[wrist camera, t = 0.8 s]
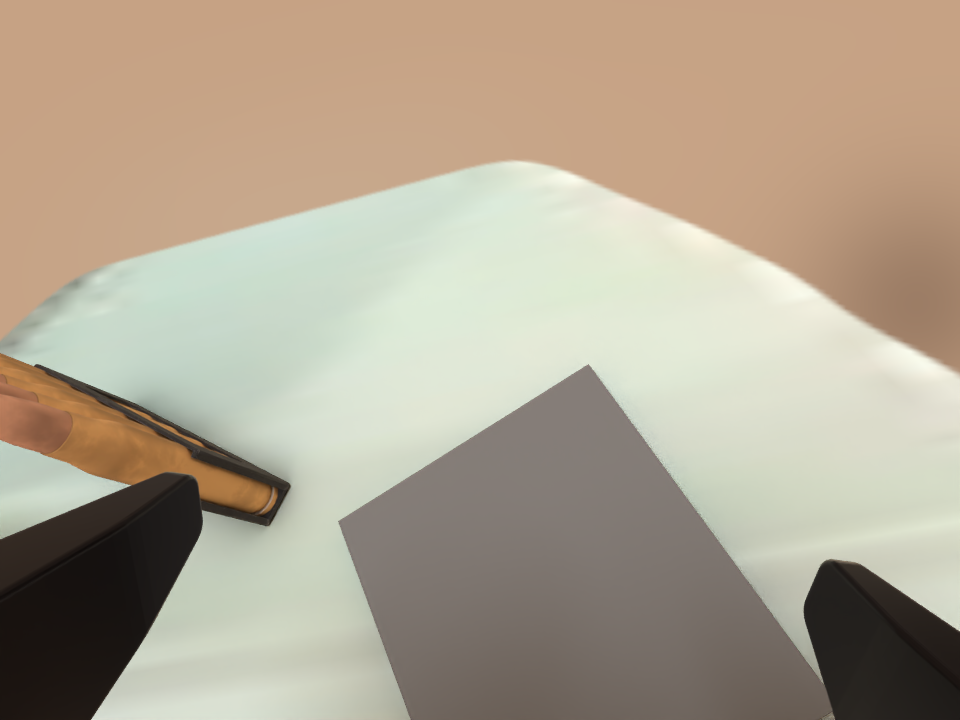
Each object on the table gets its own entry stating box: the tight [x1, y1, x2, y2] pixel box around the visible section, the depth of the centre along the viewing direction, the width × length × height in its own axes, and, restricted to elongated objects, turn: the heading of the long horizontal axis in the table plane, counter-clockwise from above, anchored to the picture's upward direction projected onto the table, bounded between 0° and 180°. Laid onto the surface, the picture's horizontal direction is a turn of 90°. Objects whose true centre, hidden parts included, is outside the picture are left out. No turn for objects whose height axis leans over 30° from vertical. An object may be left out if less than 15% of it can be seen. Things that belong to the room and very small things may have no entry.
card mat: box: [338, 364, 832, 720], centre depth 18 cm, size 12×11×1 cm
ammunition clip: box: [0, 353, 289, 526], centre depth 20 cm, size 11×2×12 cm, turn 64°
